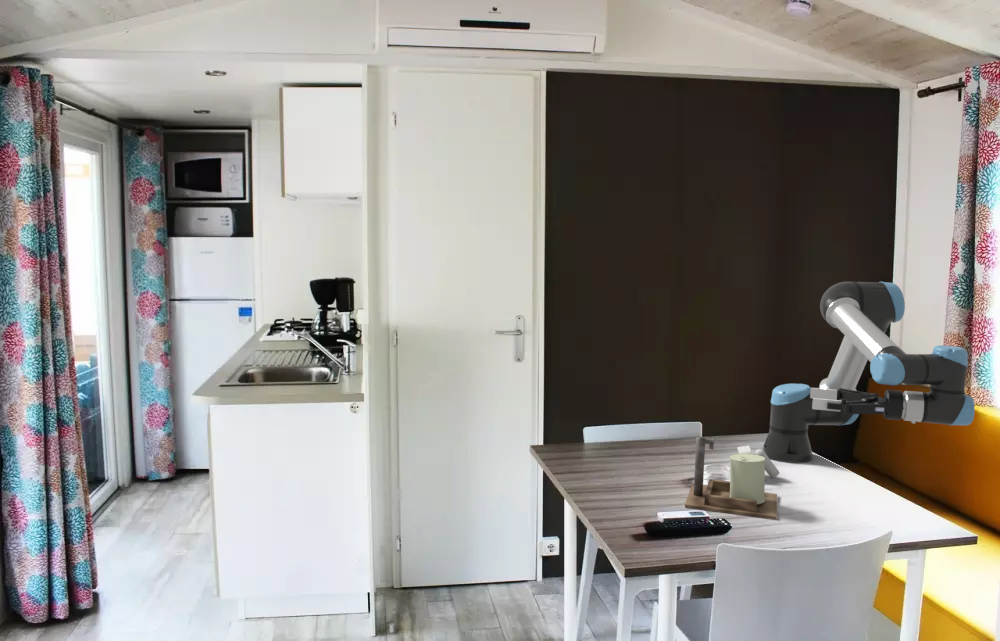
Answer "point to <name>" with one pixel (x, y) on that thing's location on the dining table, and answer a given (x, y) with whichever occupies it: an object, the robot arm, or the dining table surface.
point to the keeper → (723, 492)
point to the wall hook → (769, 465)
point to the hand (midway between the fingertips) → (811, 398)
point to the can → (747, 477)
